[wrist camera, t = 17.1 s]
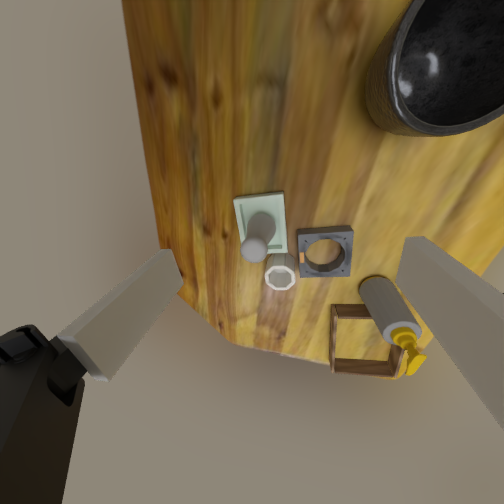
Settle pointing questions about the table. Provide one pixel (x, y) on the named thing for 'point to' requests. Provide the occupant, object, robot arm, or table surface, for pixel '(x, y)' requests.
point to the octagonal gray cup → (280, 271)
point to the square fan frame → (334, 268)
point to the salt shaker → (258, 238)
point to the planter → (439, 69)
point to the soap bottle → (393, 318)
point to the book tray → (353, 364)
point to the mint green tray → (270, 206)
